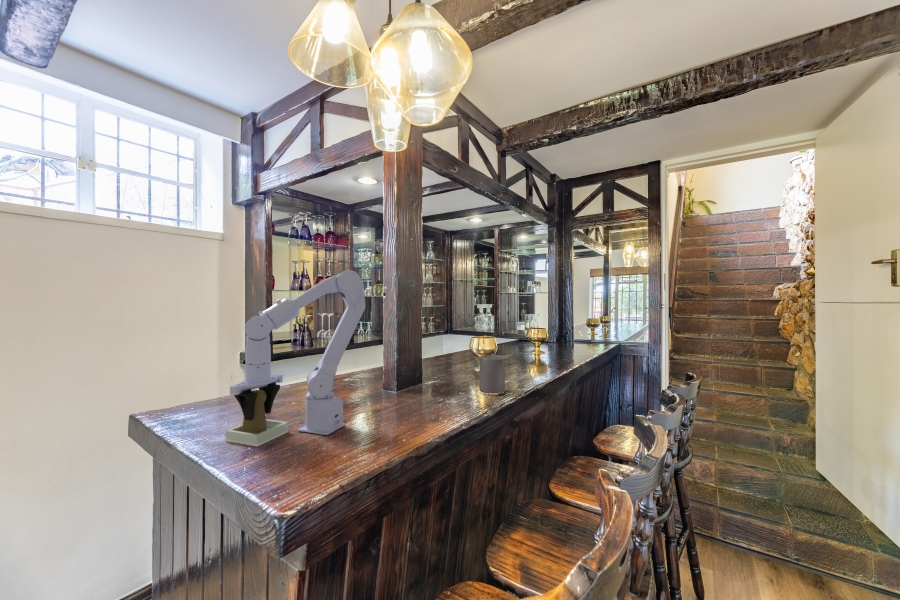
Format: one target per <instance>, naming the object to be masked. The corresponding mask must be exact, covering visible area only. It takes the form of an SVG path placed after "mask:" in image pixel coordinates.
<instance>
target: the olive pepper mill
mask: <svg viewBox="0 0 900 600" xmlns="http://www.w3.org/2000/svg"><path fill="white" fill-rule="evenodd" d="M251 391H253V393H258V395H257V397H256V401H255V406H254V417H253V420H245V419H244V418H243V420H242V424H243V425H242V424H241V425H242V431H241V432H247V433H253V434H259V433H261V432H264V431H266V430H267V424H266V419H267V416H266V413H265V408H264V402H265V401H266V396H267V395H266V393H265V391H263V390H259V389H253V390H251Z"/></svg>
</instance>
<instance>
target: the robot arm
mask: <svg viewBox="0 0 900 600" xmlns="http://www.w3.org/2000/svg"><path fill="white" fill-rule="evenodd" d="M364 288H365V284H364V282H363V280H362V277H361V276H360V275H359V273H358V272H356V271H354V270H351V269H347V270H343V271H342V272H340V273H338V274H334V275H333V276H330V277H328V278H325V279H323V280H322V281H319V282H318V283H316V284H315V285H314V286H312V287H310V288H309V289H307V290H306V291H304V292H303V293H301V294H300V295H298V296H297V297H295V298H293V299H289V298H283V299H277V300H275V304H273V305H272V306H269V307H268V308H267V309H265V310H260V311H258V315H255V316H252V317H251V318H250V319H249V320H248V321H246V323H245V325H244V333H245V334H246V338H245V342H246V343H245V344H246V345H245V353H244V354H245V359H244V360H245V361H244V362H245V364H244V365H245V373H244V376H245V378H244V379H243V381H241V382H238V383H237V384H234V385H230V386H229V395H232V396H234V399H236V401H237V402H238V403H239V404H238V405H239V406H240V409H241V411H242V414H243V419H245V420H253V417H254V406H255V401H256V397H257V395H258V393H253V391H252V390H257V389H258V390H263V391H265V393H266V395H267V396H266V401H265V402H264V408H265V414H268V415H269V414H270V413H271V411H272V407H273V406H274V405H273V404H274V402H275V399H276V397H277V394H278V393H279V391H280V389H281V384H280V383H283V379H284V378H283V376H284V374H274V375H272V374H271V372H272V371H271V369H272V366H271V362H272V358H271V357H272V353H271V352H272V350H271V349H272V348H271V347H272V345H271V344H270V342H271V340H270V339H271V336H270V333H271V332H272V330H275V331H276V330H278V329H280V328H282V327H283V326H285V325H286V324H287V323H289V322H291V321H293V320H294V319H295V318H297V317H298V316H299V313H300V310H301V309H302V308H304V307H306V306H308V305H309V304H311V303H312V302H314V301H315V300H317V299H318V300H319V298H320V297H323V296H324V295H327V294H335V293H336V294H337V293H338V294H339V295H340V296H341V297H342V299H343V302H344V305H345V307H346V308H345V310H344V312H343V313H342V316H341V318H340V319H339V322H338V324H337V326H336V328H335V330H334V332H333V334H332V336H331V338H330V341H329V343H328V344H327V347H326V348H325V351H324V353H323V354H322V357H321V358H320V360H319V361H318V362H317V364H316V366H315V367H314V369H313V370H311V371H310V372H309V373H308V375H307V376H306V384H307V389H308V390H307V391H308V392H307V393H306V394H305V417H304V418H305V421H304V423H305V425H304V426H302V427H299V428H297V431H298V432H303V433H310V434H317V435H325V436H328V435H329V434H332V433H334V432H336V431H337V430H339V429H341V428H343V427H344V426H345V425H346V423H344V402H343V400H342V398H340V397H338V396H335V395H334V391H333V388H334V381H335V380H334V379H335V377H336V373H337V370H338V366H339V363H340V362H341V360H342V357H343V355H344V353H345V352H346V349H347V347H348V344H349V343H350V341H351V338H352V337H353V334H354V333H355V330H356V328H357V327H358V324H359V323H360V320H361V318H362V316H363V314H364V311H365V310H366V297H365V289H364ZM277 383H279V384H277Z"/></svg>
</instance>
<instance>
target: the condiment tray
mask: <svg viewBox="0 0 900 600" xmlns="http://www.w3.org/2000/svg"><path fill="white" fill-rule="evenodd" d="M266 424H267V430H266V431H264V432H261V433H259V434H253V433H247V432H241V431H242V425H243V423H242V424H240V425H238V426H235V427H233V428H230V429H227V430H225V442H227V443H234V444H238V443H239V444H240V445H244V444H245V445H246V446H251V447H256V448H257V447H259V446H261V445H264V444H266V443H268V442H270V441H272V440H274V439H276V438H278V437H281V436H283V435H285V434H287V433H289V421H284V420H283V421H281V420H276V419H275V420H274V419H267V418H266ZM239 444H238V445H239Z"/></svg>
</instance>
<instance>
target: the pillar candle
mask: <svg viewBox="0 0 900 600" xmlns="http://www.w3.org/2000/svg"><path fill="white" fill-rule="evenodd" d="M505 361H506V356H504V355H500V354H499V355H498V354H483V355H482V354H481V355H480V356H479V386H478V387H479V388H478V389H479V390H480V391H481V392H484V393H499V392H503V391H504V390H505V389H506V387H505V386H506V384H505V383H506V371H505V370H506V369H505V366H506V362H505Z"/></svg>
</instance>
